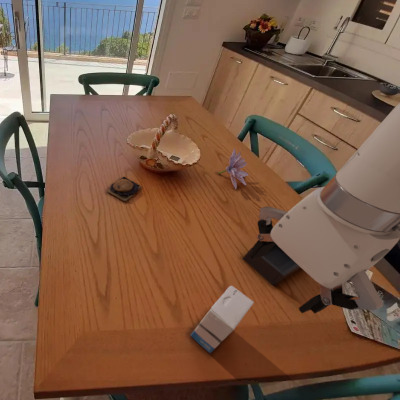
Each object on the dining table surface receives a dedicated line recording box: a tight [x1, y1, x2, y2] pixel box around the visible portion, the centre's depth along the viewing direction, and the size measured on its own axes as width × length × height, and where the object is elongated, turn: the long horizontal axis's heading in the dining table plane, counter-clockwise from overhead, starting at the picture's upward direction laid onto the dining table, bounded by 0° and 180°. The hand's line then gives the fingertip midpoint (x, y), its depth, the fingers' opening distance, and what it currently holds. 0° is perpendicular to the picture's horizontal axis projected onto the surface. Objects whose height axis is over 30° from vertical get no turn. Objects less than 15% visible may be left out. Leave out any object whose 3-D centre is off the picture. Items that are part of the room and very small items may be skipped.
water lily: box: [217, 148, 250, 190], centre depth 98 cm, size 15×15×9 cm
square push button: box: [107, 176, 141, 202], centre depth 90 cm, size 11×8×4 cm
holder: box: [242, 244, 302, 287], centre depth 71 cm, size 9×13×5 cm
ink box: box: [190, 285, 255, 354], centre depth 54 cm, size 9×5×12 cm, turn 130°
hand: (279, 280), depth 43 cm, fingers open, 9 cm apart
